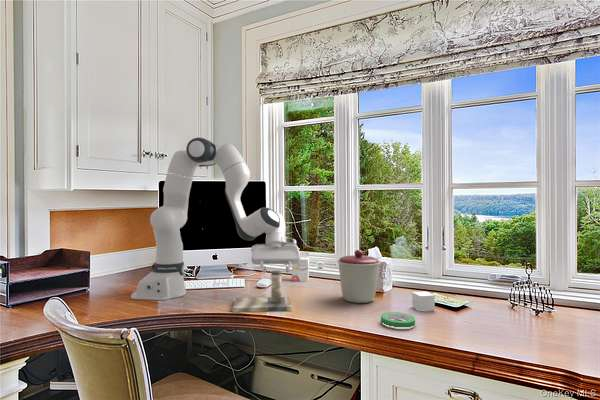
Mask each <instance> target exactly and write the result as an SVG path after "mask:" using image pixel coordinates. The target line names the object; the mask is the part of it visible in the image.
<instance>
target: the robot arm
mask: <svg viewBox="0 0 600 400" xmlns="http://www.w3.org/2000/svg"><path fill="white" fill-rule="evenodd" d="M185 148H186V149H185V150H183V149H181V150H177V151H175V152H174V153H173V155H172V157H171V159H170V162H169V164H168V168H167V173H166V176H165V181H164V184H163V188H162V192H163V205H162V206H160V207H158V208H156V209H155V210H154V211H153V212H152V213H151V215H150V219H149V222H150V226H151V227H152V229H153V234H154V239H155V246H156V247H155V252H156V253H155V254H156V255H155V260H156V261H155V262H154V263H152V265H150V270H151V271H150V272H149V273H148V274H147V275H146V276H144V277H142V279H140V281H139V282H138V283H137V287H136V291H134V292H132V293H131V295H130V299H131V300H145V301H146V300H150V301H153V300H154V301H168V300H171V299H175V298H180V297H183V296H185V295H186V294H187V290H186V286H185V279H184V275H185V274H184V273H185V261H184V244H183V241H182V236H181V231H180V229H182V228H183V227H184V226H185V225H186V223H187V221H188V211H189V210H188V209H189V198H190V193H191V188H192V183H193V179H194V175H195V171H196V170H197V168H198V167H203V168H204V167H211V166H212V167H213V166H215V165H217V166H218V167H219V170H220V171H221V174H223V178H224V181H225V188H224V193H225V197H226V201H227V202H228V206H229V208H230V211H231V215H232V217H233V219H234V222H235V228H236V232H237V234H238V236H239V237H240V238H241V239H243V240H245V241H249V242H251V241H254V240H255V239H256V238H257V237H258V236H261V235H262V234H264V233H265V235H266V236H265V243H256V244H254V245H252V246H251V248H250V249H251V252H252V253H251V263H252V264H253V265H259V266H260V268H261V269H262V273H266V272H267V266H264V265H288V266H285V273H290V269H291V268H292V264H298V263H299V262H300V255H301V254H300V252H301V251H300V248H299V247H298V245H297V240H296V239H294V238H291V237H287V236H286V229H287V228H286V222H285V218H284V216H283V214H281V212H278V211H274V209H272V208H269V207H265V206H263V207H261V208H259V209H258V210H255V211H254V212H253V213H251V214H249V215H248V216H247V215H246V212H245V210H244V206H243V204H242V201H241V197H242V194H243V191H244V189H245V188H246V187H247V185H248V183H249V181H250V178H251V171H250V168H249V166H248V164H247V162H246V160H245V159H244V157H243V156H242V155H241V153H240V151H239V150H238V149H237V148H236V147H235V146H234V145H233V144H230V143H224V144H222V145H220V146H218V145H216V144H215V143H214V142H213V141H211V140H208V139H206V138H204V137H194V138H192V139H191V140H189V142H188V143H187V144H186V147H185Z"/></svg>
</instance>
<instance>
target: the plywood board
mask: <svg viewBox="0 0 600 400" xmlns="http://www.w3.org/2000/svg"><path fill="white" fill-rule="evenodd" d="M291 302H292V301H291V299H290V297H289V296H283V297H282V302H281V303H272V302H271V297H269V296H268V297H235V299H234V303H233V306H232V313H247V312H248V313H249V312H251V313H253V312H292V308H293V307H292V304H291Z"/></svg>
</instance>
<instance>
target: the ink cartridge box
mask: <svg viewBox="0 0 600 400" xmlns="http://www.w3.org/2000/svg"><path fill="white" fill-rule="evenodd" d="M299 252H300V262H299V263H298V264H292V266H291V281H292V282H309V278H310V277H309V276H310V270H309V269H310V255H309V254H310V252H309V251H299Z"/></svg>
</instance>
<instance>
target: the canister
mask: <svg viewBox="0 0 600 400" xmlns="http://www.w3.org/2000/svg"><path fill="white" fill-rule="evenodd" d="M336 262H337V263H338V271H339V280H340V287H341V295H342V297H343V299H344V300H345V301H347V302H350V303H356V304H367V303H370V302H373V300H374V299H375V297H376V293H377V287H378V285H377V284H378V278H379V269H380V265H381V261H380V260H379V259H378V258H376V257H374V256H369V255H368V256H367V255H364V252H363V250H361V249H356V250H355V251H354V254H353V255H345V256H344V255H343V256H342V257H340V258H339V259H337V260H336Z"/></svg>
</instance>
